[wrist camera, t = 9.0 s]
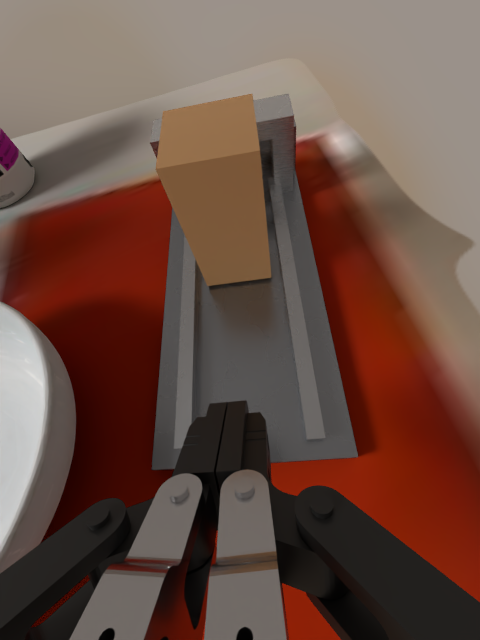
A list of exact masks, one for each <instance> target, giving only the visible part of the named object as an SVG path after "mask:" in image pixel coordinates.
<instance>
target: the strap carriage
mask: <svg viewBox="0 0 480 640" xmlns="http://www.w3.org/2000/svg"><path fill="white" fill-rule="evenodd" d="M156 171H157V173H158V175H159V178H160V180H161V182H162V185H163V187H164V189H165V191H166V194H167V196H168V198H169V200H170V203H171V205H172V207H173V209H174V212H175V214H176V216H177V218H178V221H179V223H180V225H181V228H182V230H183V232H184V234H185V237H186V239H187V241H188V243H189V246H190V248H191V250H192V252H193V255H194V257H195V259H196V261H197V264H198V266H199V268H200V271H201V273H202V275H203V277H204V280H205V282H206V284H207V286H212V285H220V284H227V283H235V282H242V281H250V280H258V279H265V278H272V277H271V266H270V255H269V244H268V233H267V222H266V211H265V200H264V189H263V178H262V167H261V156H260V147H259V139H258V132H257V125H256V118H255V110H254V103H253V96H252V94H248V95H243V96H238V97H233V98H228V99H223V100H218V101H213V102H208V103H203V104H198V105H193V106H188V107H183V108H178V109H173V110H168V111H163V116H162V124H161V132H160V139H159V147H158V155H157V163H156Z"/></svg>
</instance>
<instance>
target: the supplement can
mask: <svg viewBox="0 0 480 640" xmlns="http://www.w3.org/2000/svg"><path fill="white" fill-rule="evenodd" d="M34 175H35V171H34V167H33V166H32V165H31V164H30V162H29V161H28V160H27V159H26V158H25V156H24V155H23V154H22V153H21V152H20V151H19V149H18V148H17V147H16V146H15V145H14V143H13V142H12V141H11V140H10V139H9V137H8V136H7V135H6V134H5V133H4V132H3V130H2V129H1V128H0V208H3V207H6V206H8V205H11V204H13V203H15V202H17V201H18V200H19V199H21V198H22V197H23V196H25V195H26V194H27V192H28V191H29V190H30V189H31V188H32V186H33V183H34Z"/></svg>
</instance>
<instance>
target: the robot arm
mask: <svg viewBox="0 0 480 640" xmlns="http://www.w3.org/2000/svg"><path fill="white" fill-rule="evenodd" d="M217 530H218V540H217V547H216V543H215V538H216V531H217ZM87 575H88V576H89V579H90V580H89V581H88V582H87V583H86V584H85V585H84V586H83V587H82V588H80V589H79V590H78V591H77V592H76V593H75V594H74V595H73V596H72V597H71V598H70V599H68V600H67V601H66V602H65V603H64V604H63V605H62V606H61V607H60V608H59V609H57V610H56V611H55V612H54V613H53V614H52V615H51V616H50V617H49V618H48V619H47V620H45V621H44V622H43V623H41V624H40V625H38V626H36V627H32V628H30V627H31V626H32V625H33V624H34V623H35V622H36V621H37V620H38V619H39V618H40V617H41V616H42V615H43V614H44V613H45V612H46V611H48V610H49V609H50V608H51V607H52V606H53V605H54V604H55V603H56V602H58V601H59V600H60V599H61V598H62V597H63V596H64V595H65V594H67V593H68V592H69V591H70V590H71V589H72V588H73V587H74V586H75V585H77V584H78V583H79V582H80V581H81V580H82V579H83V578H84V577H86V576H87ZM282 583H284V584H286V585H289V586H292V587H294V588H297V589H299V590H302V591H304V592H306V594H307V596H308V598H309V599H310V600H311V602H312V603H313V604H314V606H315V607H316V608H317V609H318V611H319V612H320V613H321V614H322V616H323V617H324V618H325V619H326V621H327V622H328V623H329V624H330V626H331V627H332V628H333V629H334V631H335V632H336V633H337V635H338V636H339V637H340V638H341V640H480V602H478V601H477V600H476V599H475V598H473V597H472V596H471V595H469V594H468V593H467V592H466V591H464V590H463V589H462V588H460V587H459V586H458V585H457V584H455V583H454V582H453V581H452V580H450V579H449V578H448V577H446V576H445V575H444V574H443V573H441V572H440V571H439V570H437V569H436V568H435V567H434V566H432V565H431V564H430V563H428V562H427V561H426V560H425V559H423V558H422V557H421V556H419V555H418V554H417V553H416V552H414V551H413V550H412V549H411V548H409V547H408V546H407V545H405V544H404V543H403V542H402V541H400V540H399V539H398V538H396V537H395V536H394V535H393V534H391V533H390V532H389V531H387V530H386V529H385V528H384V527H382V526H381V525H380V524H379V523H377V522H376V521H375V520H373V519H372V518H371V517H370V516H368V515H367V514H366V513H364V512H363V511H362V510H361V509H359V508H358V507H357V506H355V505H354V504H353V503H352V502H350V501H349V500H348V499H346V498H345V497H344V496H343V495H341V494H340V493H339V492H337V491H336V490H334V489H332V488H329V487H326V486H312V487H308V488H306V489H304V490H303V491H302V492H301V493H300V494H299V495H298V496H294V495H290V494H287V493H284V492H282V491H280V490H278V489H277V488H276V487H274V486H273V485H272V483H271V464H270V448H269V441H268V434H267V426H266V420H265V418H264V417H263V416H262V414H261V413H260V412H255V413H249V410H248V404H247V401H246V400H244V401H233V402H220V403H210V404H209V407H208V410H207V414H206V417H197V418H196V419H195V420H194V422H193V423H192V424H191V425H190V426H189V429H188V432H187V435H186V438H185V440H184V443H183V446H182V449H181V452H180V455H179V457H178V460H177V463H176V466H175V469H174V472H173V475H172V477H171V478H170V479H168V480H167V481H166V482H164V483H163V484H162V485H161V487H160V488H159V489H158V491H157V493H156V495H155V497H154V498H152V499H150V500H147V501H145V502H142V503H139V504H136V505H134V506H131V507H128V508H126V507H125V504H124V503H123V501H121V500H120V499H117V498H108V499H104V500H101V501H99V502H97V503H95V504H93V505H92V506H90V507H89V508H88V509H86V510H85V511H84V512H82V513H81V514H80V515H78V516H77V517H76V518H74V519H73V520H72V521H70V522H69V523H68V524H66V525H65V526H64V527H62V528H61V529H59V530H58V531H57V532H55V533H54V534H53V535H51V536H50V537H49V538H47V539H46V540H45V541H43V542H42V543H41V544H39V545H38V546H37V547H35V548H34V549H33V550H31V551H30V552H29V553H27V554H26V555H25V556H23V557H22V558H20V559H19V560H18V561H16V562H15V563H14V564H12V565H11V566H10V567H8V568H7V569H6V570H4V571H3V572H2V573H0V640H202V637H203V631H204V625H205V636H204V640H289V634H288V627H287V619H286V611H285V603H284V595H283V588H282ZM205 620H206V623H205Z"/></svg>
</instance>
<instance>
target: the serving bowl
mask: <svg viewBox="0 0 480 640" xmlns="http://www.w3.org/2000/svg"><path fill="white" fill-rule="evenodd" d="M75 435H76V408H75V399H74V393H73V389H72V385H71V381H70V378H69V375H68V372H67V370H66V367H65V365H64V363H63V361H62V359H61V357H60V355H59V354H58V352H57V351H56V349H55V348H54V346H53V345H52V343H51V342H50V341H49V339H48V338H47V337H46V336H45V335H44V334H43V333H42V332H41V331H40V330H39V329H38V328H37V327H36V326H35V325H34V324H33V323H32V322H31V321H29V320H28V319H27V318H26V317H25V316H24V315H23V314H21V313H20V312H19V311H17V310H16V309H14V308H12V307H11V306H9V305H7V304H5V303H2V302H0V573H2V572H3V571H4V570H6V569H7V568H8V567H10V566H11V565H12V564H14V563H15V562H16V561H18V560H19V559H20V558H22V557H23V556H25V555H26V554H27V553H29V552H30V551H31V550H33V549H34V548H35V547H37V546H38V545H39V544H40V543H41V541H42V539H43V537H44V535H45V533H46V531H47V529H48V527H49V525H50V523H51V521H52V519H53V516H54V514H55V512H56V509H57V507H58V504H59V502H60V499H61V496H62V493H63V491H64V487H65V484H66V481H67V477H68V474H69V470H70V466H71V462H72V457H73V452H74V444H75Z"/></svg>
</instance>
